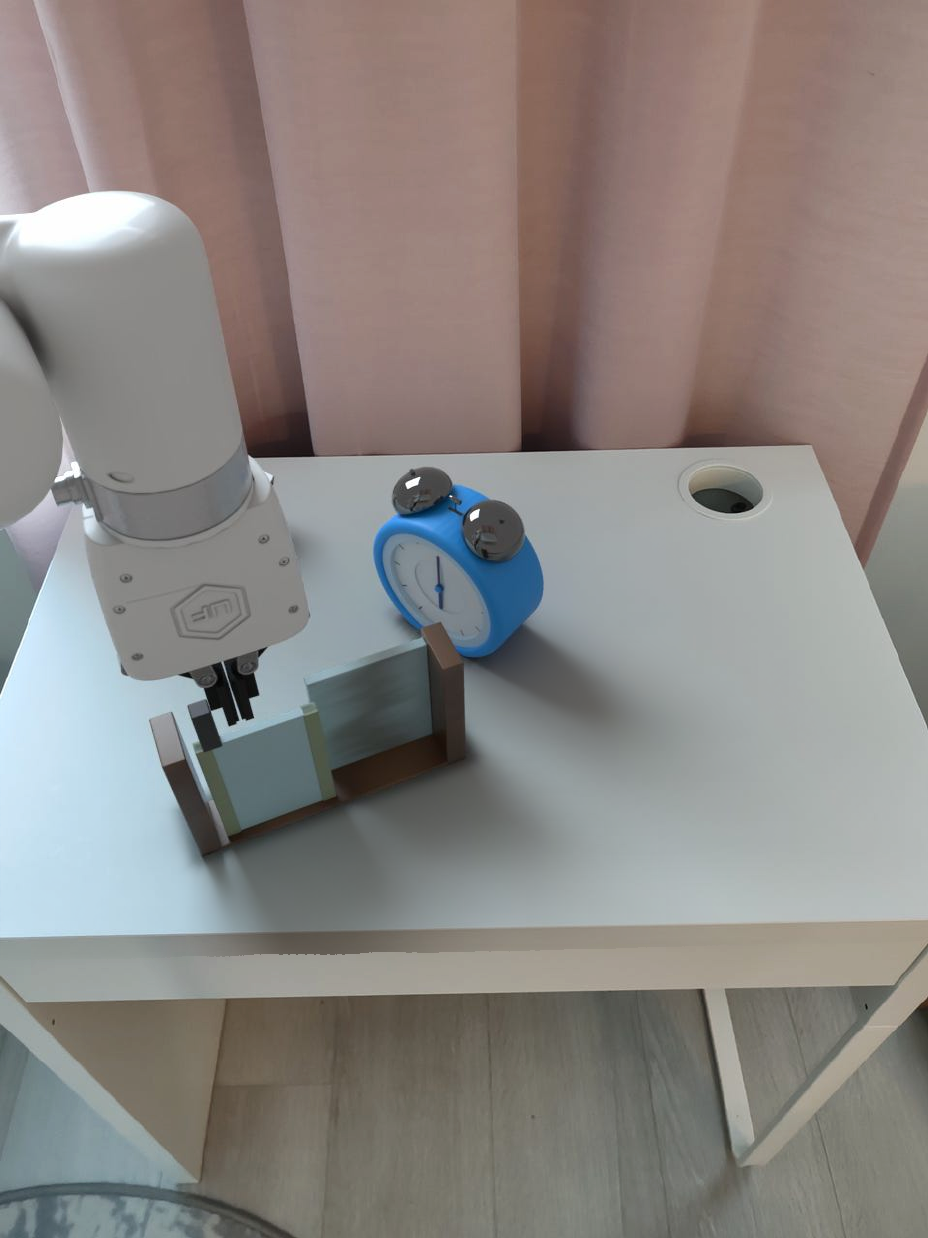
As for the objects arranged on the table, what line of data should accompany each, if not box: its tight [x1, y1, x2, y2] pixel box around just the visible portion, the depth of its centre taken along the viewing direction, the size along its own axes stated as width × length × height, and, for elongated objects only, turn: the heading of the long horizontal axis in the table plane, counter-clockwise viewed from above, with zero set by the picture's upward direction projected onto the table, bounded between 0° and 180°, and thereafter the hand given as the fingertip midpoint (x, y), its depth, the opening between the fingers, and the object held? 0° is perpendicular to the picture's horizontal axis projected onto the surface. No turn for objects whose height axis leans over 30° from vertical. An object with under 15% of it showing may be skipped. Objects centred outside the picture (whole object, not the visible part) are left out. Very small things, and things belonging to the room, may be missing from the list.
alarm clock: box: [372, 466, 545, 658], centre depth 78 cm, size 13×6×15 cm, turn 51°
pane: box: [186, 698, 336, 836], centre depth 66 cm, size 8×1×14 cm, turn 113°
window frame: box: [148, 622, 467, 858], centre depth 69 cm, size 20×4×12 cm, turn 113°
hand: (235, 704), depth 61 cm, fingers closed
